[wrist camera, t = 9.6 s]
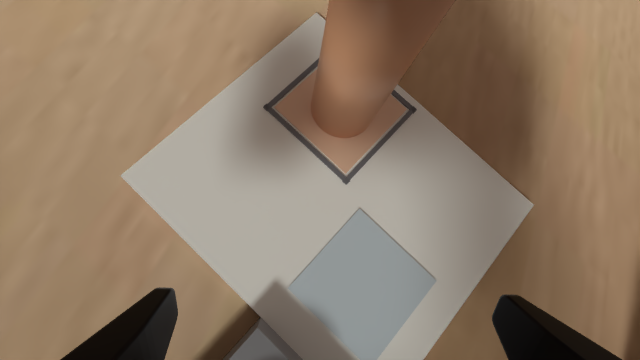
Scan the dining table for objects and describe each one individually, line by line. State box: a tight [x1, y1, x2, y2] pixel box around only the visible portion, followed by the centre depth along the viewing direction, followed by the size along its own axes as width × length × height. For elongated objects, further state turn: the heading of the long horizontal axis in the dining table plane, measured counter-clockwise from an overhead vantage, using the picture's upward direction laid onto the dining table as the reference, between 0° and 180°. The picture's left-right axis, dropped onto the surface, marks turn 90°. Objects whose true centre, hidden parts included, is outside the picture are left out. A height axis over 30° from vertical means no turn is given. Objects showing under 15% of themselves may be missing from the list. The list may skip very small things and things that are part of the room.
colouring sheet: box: [121, 12, 534, 360], centre depth 18 cm, size 19×16×1 cm
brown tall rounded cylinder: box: [311, 0, 455, 138], centre depth 12 cm, size 4×4×13 cm
